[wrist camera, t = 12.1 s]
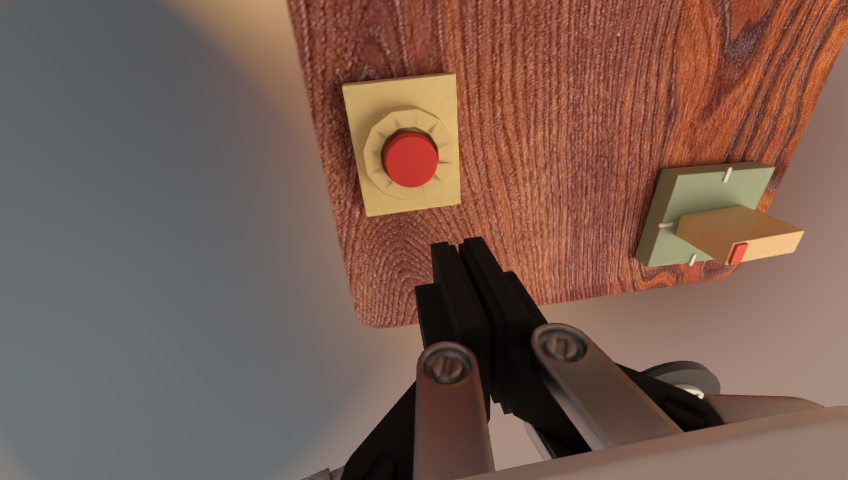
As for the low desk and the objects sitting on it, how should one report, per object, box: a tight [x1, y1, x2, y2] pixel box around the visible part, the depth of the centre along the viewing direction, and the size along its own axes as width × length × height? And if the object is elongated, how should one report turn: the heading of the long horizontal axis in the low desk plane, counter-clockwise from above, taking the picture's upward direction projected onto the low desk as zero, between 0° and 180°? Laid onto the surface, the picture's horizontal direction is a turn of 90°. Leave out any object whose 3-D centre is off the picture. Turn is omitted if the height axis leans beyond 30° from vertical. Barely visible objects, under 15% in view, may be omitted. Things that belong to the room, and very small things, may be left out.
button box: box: [342, 72, 461, 217], centre depth 26 cm, size 10×8×4 cm
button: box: [385, 131, 438, 188], centre depth 24 cm, size 4×4×2 cm
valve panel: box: [635, 161, 775, 267], centre depth 34 cm, size 11×11×2 cm
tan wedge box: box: [675, 205, 804, 265], centre depth 31 cm, size 6×2×6 cm, turn 96°
